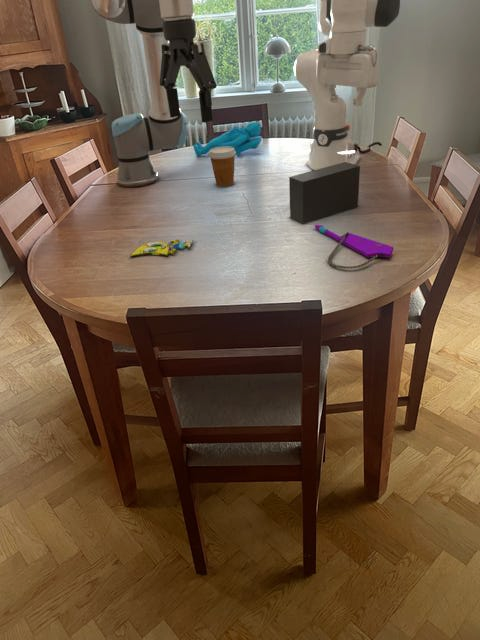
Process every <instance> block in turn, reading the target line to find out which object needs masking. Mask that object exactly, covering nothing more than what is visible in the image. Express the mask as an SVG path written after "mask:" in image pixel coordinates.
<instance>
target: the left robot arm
mask: <svg viewBox="0 0 480 640" xmlns="http://www.w3.org/2000/svg"><path fill="white" fill-rule="evenodd" d="M90 2H91V5H92V7H93V9H94V11H95V12H96V13H97V14H98V15H99V16H100V17H101V18H103V19H104V20H107V21H109V22H112V23H115V24H119V25H134V24H135V29H136V31H138V32H139V33H140V34H141V37H142V45H143V52H144V59H145V66H146V74H147V80H148V81H147V82H148V88H149V89H148V90H149V96H150V103H151V107H150V108H149V109H148V116H146V117H145V116H143V114H142V113H138V112H137V113H130V114H127V115H124V116H120V117H119V118H116V119H114V120H113V121H112V122H111V131H112V137H113V141H114V145H115V151H116V155H117V160H118V167H117V168H118V170H117V179H116V180H117V183H118V186H120V187H123V188H124V187H125V188H136V187H137V188H138V187H145V186H147V185H148V186H149V185H151V184H154V183H156V182H157V181H158V180H159V176H158V172H157V169H156V167H155V166H154V163H153V161H152V159H151V156H150V152H152V151H159V150H167V149H176V148H180V147H183V146H184V145H185V144H186V143H187V137H188V127H187V117H186V114H185V113H184V112H182V110H181V108H180V107H181V106H180V99H179V93H178V88H177V85H176V83H177V79H178V76H179V73H180V70H181V67H185V69H188V70H189V72H190V74H191V76H192V78H193V80H194V81H195V83H196V85H197V87H198V88H199V90H198V99H199V108H200V118H201V123H202V124H203V123H205V124H206V123H208V122H212V121H213V119H214V118H213V110H212V107H213V106H212V105H213V102H212V100H213V99H212V90H214V89H217V82H216V80H215V77H214V74H213V72H212V69H211V66H210V64H209V61H208V57H207V55H206V51H205V45H204V43H203V42H196V43H195V40H194V39H195V38H196V37H197V35H198V34H197V25H196V20H195V19H194V18H193V17H194V16H195V8H194V0H90Z"/></svg>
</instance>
